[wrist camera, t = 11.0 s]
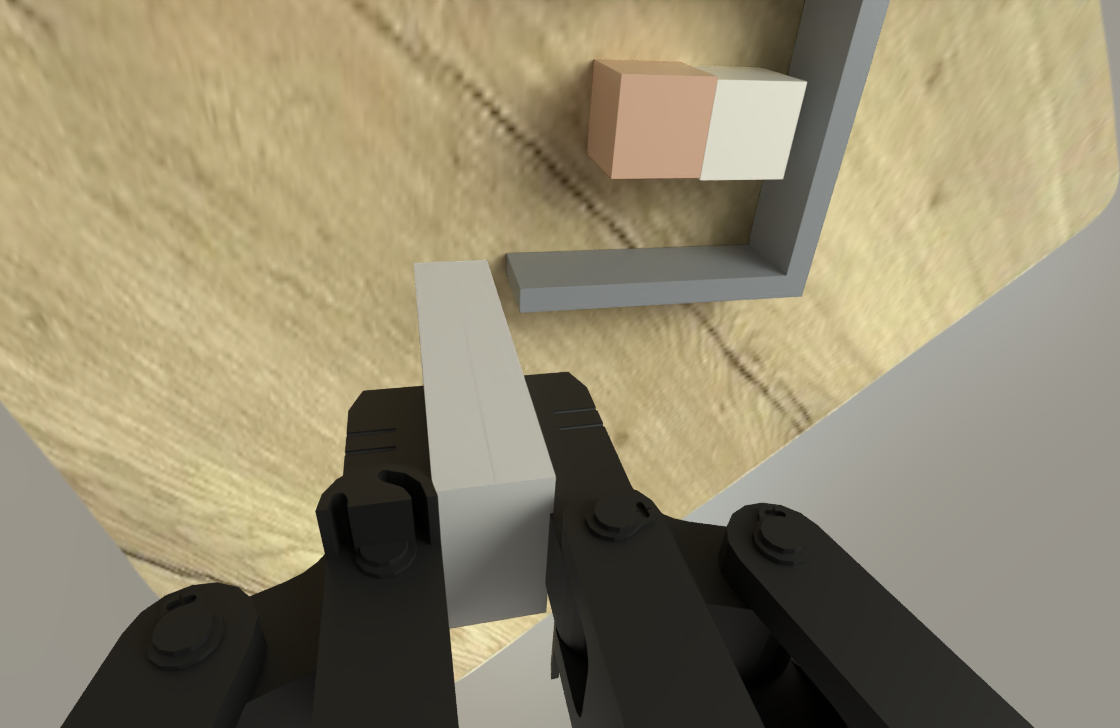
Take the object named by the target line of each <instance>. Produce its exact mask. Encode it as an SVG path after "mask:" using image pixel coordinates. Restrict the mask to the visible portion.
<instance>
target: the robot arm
mask: <svg viewBox="0 0 1120 728" xmlns="http://www.w3.org/2000/svg"><path fill="white" fill-rule="evenodd" d="M414 273H415V286H416V299H417V312H418V324H419V337H420V350H421V363H422V375H423V386H414V387H402V388H390V389H378V390H366V391H363V392H362V393H361V394H360V396H359V397H358V398H357V400H356V401H355V402H354V404H353V405H352V407H351V408H350V409H349V411H348V422H347V437H346V447H345V459H344V471H343V476H342V477H340V478H338V479H336V480H335V481H334V483H333V484H332V485H331V486H330V487H329V488H328V489H327V490H326V491H325V492H324V493H323V494H322V496H321V498H320V501H319V503H318V506H317V508H316V511H315V512H316V516H317V521H318V525H319V529H320V534H321V538H322V543H323V547H324V552H325V554H324V556H323V557H322V558H321V559H320V560H319V561H318V562H317V563H316V564H314V565H313V566H312V567H310V568H309V569H308V570H306V571H305V572H304V573H302V574H300V575H298V576H296V577H294V578H292V579H290V580H288V581H286V582H284V583H281V584H279V585H276V586H274V587H272V588H269V589H267V590H264V591H262V592H259V593H257V594H254V595H252V596H248V595H247V594H246V593H244V592H243V591H242V590H241V589H240V588H239V587H235V586H231V585H227V584H222V583H218V582H216V583H207V584H198V585H191V586H189V587H186V588H184V589H181V590H178V591H176V592H173V593H171V594H168V595H166V596H164V597H163V598H161V599H160V600H158V601H157V602H155V603H154V604H152V605H151V606H150V607H148V608H147V609H145V610H144V611H142V612H141V613H140V614H139V615H138V617H136V619H135V620H134V621H133V622H132V623H131V624H130V626H129V627H128V628H127V629H126V630H125V631H124V632H123V633H122V635H121V636H120V638H119V639H118V641H117V642H116V644H115V646H114V647H113V649H112V650H111V652H110V653H109V655H108V656H107V658H106V659H105V661H104V662H103V664H102V665H101V667H100V668H99V670H98V671H97V673H96V674H95V676H94V677H93V679H92V680H91V682H90V684H89V685H88V686H87V688H86V690H85V691H84V692H83V694H82V696H81V697H80V699H79V700H78V702H77V703H76V705H75V706H74V708H73V709H72V711H71V712H70V714H69V715H68V717H67V718H66V720H65V721H64V723H63V725H62V726H61V727H60V728H459V726H458V715H457V705H456V694H455V684H454V673H453V662H452V652H451V641H450V631H449V629H450V628H456V627H462V626H468V625H474V624H480V623H486V622H492V621H498V620H504V619H510V618H516V617H522V616H528V615H533V614H539V613H545V612H546V607H547V593H548V597H549V601H550V605H551V609H552V613H553V617H554V632H553V644H552V655H551V679H555V678H558V677H559V673H560V677H561V682H562V686H563V690H564V695H565V699H566V703H567V708H568V712H569V716H570V720H571V725H572V728H1034V727H1033V726H1032V725H1031V724H1030V723H1029V722H1028V721H1027V720H1025V719H1024V718H1023V717H1022V716H1021V715H1020V714H1019V713H1018V712H1017V711H1016V710H1015V709H1014V708H1013V707H1012V706H1010V705H1009V704H1008V703H1007V702H1006V701H1005V700H1004V699H1003V698H1002V697H1001V696H1000V695H999V694H997V692H996V691H994V690H993V689H992V688H991V687H990V686H989V685H988V684H987V683H986V682H985V681H984V680H983V679H982V678H981V677H979V676H978V675H977V674H976V673H975V672H974V671H973V670H972V669H971V668H970V667H969V666H968V665H967V664H966V663H964V662H963V661H962V660H961V659H960V658H959V657H958V656H957V655H956V654H955V653H954V652H953V651H952V650H951V649H950V648H948V647H947V646H946V645H945V644H944V643H943V642H942V641H941V640H940V639H939V638H938V637H937V636H936V635H934V634H933V633H932V632H931V631H930V630H929V629H928V628H927V627H926V626H925V625H924V624H923V623H922V622H921V621H920V620H918V619H917V618H916V617H915V616H914V615H913V614H912V613H911V612H910V611H909V610H908V609H907V608H906V607H905V606H903V605H902V604H901V603H900V602H899V601H898V600H897V599H896V598H895V597H894V596H893V595H892V594H890V593H889V591H887V590H886V589H885V588H884V587H883V586H882V585H881V584H880V583H879V582H878V581H877V580H875V578H874V577H872V576H871V575H870V574H869V573H868V572H867V571H866V570H865V569H864V568H863V567H862V566H861V565H860V564H859V563H857V562H856V561H855V560H854V559H853V558H852V557H851V556H850V555H849V554H848V553H847V552H846V551H845V550H843V548H841V547H840V546H839V545H838V544H837V543H836V542H835V541H834V540H833V539H832V538H831V537H830V536H828V534H826V533H825V532H824V531H823V530H822V529H821V528H820V527H819V526H818V525H816V524H815V523H814V522H812V521H811V520H809V519H808V518H807V517H805V516H804V515H803V514H801V513H799V512H797V511H794V510H792V509H789V508H787V507H784V506H782V505H776V504H768V503H757V504H752V505H746V506H744V507H742V508H741V509H739V510H738V511H736V512H735V513H733V514H732V516H731V518H730V521H729V523H728V525H727V527H725V526H717V525H711V524H703V523H695V522H688V521H683V520H679V519H674V518H672V517H669V516H667V515H664V514H662V513H661V512H660V510H659V509H658V508H657V506H656V505H655V504H654V502H653V501H652V500H651V499H649V498H648V497H646V496H645V495H643V494H642V493H640V492H639V491H637V490H634V489H633V488H632V486H631V484H630V482H629V480H628V477H627V475H626V473H625V471H624V468H623V466H622V464H621V462H620V460H619V457H618V455H617V453H616V451H615V449H614V446H613V444H612V442H611V440H610V437H609V435H608V433H607V431H606V429H605V427H603V422H602V420H601V418H600V415H599V413H598V411H596V406H595V404H594V402H593V400H592V398H591V395H590V393H589V391H588V389H587V387H586V386H585V385H583V384H582V383H581V382H580V381H579V380H577V379H576V378H575V377H574V376H573V375H571V374H570V373H569V372H559V373H547V374H535V375H523V372H522V369H521V365H520V362H519V359H518V356H517V353H516V350H515V347H514V343H513V340H512V337H511V334H510V331H509V328H508V325H507V321H506V318H505V315H504V312H503V309H502V306H501V302H500V299H499V296H498V293H497V290H496V287H495V284H494V280H493V277H492V274H491V271H490V268H489V265H488V262H487V260H471V261H447V262H422V263H414Z"/></svg>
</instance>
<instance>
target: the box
mask: <svg viewBox="0 0 1120 728" xmlns="http://www.w3.org/2000/svg"><path fill="white" fill-rule="evenodd" d="M889 2H890V0H805V4H804V8H803V12H802V17H801V21H800V25H799V29H798V34H797V38H796V42H795V46H794V51H793V55H792V59H791V63H790V68H789V72H788V76H791V77H794V78H797V79H800V80H803V81H807V85H806V89H805V93H804V97H803V101H802V105H801V109H800V113H799V117H798V121H797V125H796V129H795V133H794V137H793V141H792V145H791V149H790V153H789V157H788V161H787V165H786V169H785V173H784V177H783V179H763V183H762V187H761V192H760V196H759V200H758V204H757V209H756V213H755V217H754V222H753V226H752V230H751V234H750V239H749V243H748V244H747V245H720V246H692V247H665V248H638V249H610V250H583V251H556V252H528V253H507V267H506V276H507V278H508V281H509V284H510V287H511V290H512V292H513V295H514V298H515V301H516V303H517V306H518V309H519V312H520V313H525V312H543V311H560V310H577V309H594V308H612V307H629V306H646V305H663V304H681V303H698V302H715V301H732V300H750V299H767V298H784V297H801V296H802V294H803V290H804V287H805V284H806V280H807V277H808V274H809V270H810V267H811V264H812V260H813V257H814V253H815V250H816V247H817V243H818V240H819V237H820V233H821V230H822V227H823V223H824V220H825V217H826V213H827V210H828V206H829V203H830V200H831V196H832V193H833V190H834V186H835V183H836V180H837V176H838V173H839V170H840V166H841V163H842V159H843V156H844V153H845V149H846V146H847V143H848V139H849V136H850V133H851V129H852V126H853V123H854V119H855V116H856V112H857V109H858V106H859V102H860V99H861V96H862V92H863V89H864V86H865V82H866V79H867V76H868V72H869V69H870V65H871V62H872V59H873V55H874V52H875V49H876V45H877V42H878V39H879V35H880V32H881V29H882V25H883V22H884V18H885V15H886V12H887V8H888V5H889Z"/></svg>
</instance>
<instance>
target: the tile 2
mask: <svg viewBox="0 0 1120 728" xmlns="http://www.w3.org/2000/svg"><path fill="white" fill-rule="evenodd" d="M689 66H692V67H695V68H697V69H700V70H702V71H705V72H708V73H710V74H713V75H715V76H718V80H717V85H716V91H715V97H714V102H713V108H712V114H711V119H710V125H709V130H708V136H707V142H706V147H705V153H704V159H703V164H702V170H701V175H700V178H697V179H699V180H763V179H783V177H784V173H785V169H786V165H787V161H788V157H789V153H790V149H791V145H792V141H793V137H794V133H795V129H796V125H797V121H798V117H799V113H800V109H801V105H802V101H803V97H804V93H805V89H806V85H807V81H803V80H800V79H797V78H794V77H791V76H787V75H784V74H781V73H778V72H775V71H771V70H768V69H765V68H762V67H740V66H706V65H689Z"/></svg>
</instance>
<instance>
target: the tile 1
mask: <svg viewBox="0 0 1120 728" xmlns="http://www.w3.org/2000/svg"><path fill="white" fill-rule="evenodd" d="M717 80H718V76H715V75H713V74H710V73H708V72H705V71H702V70H700V69H697V68H695V67H692V66H689V65H687V64H684V63H682V62H665V61H633V60H601V59H594V68H593V81H592V94H591V107H590V120H589V133H588V146H587V154H588V155H589V156H590V157H591V159H592V160H593V161H594V162H595V163H596V164H597V165H598V166H599V167H600V168H601V169H602V170H603V171H604V172H605V173H606V174H607V175H608V176H609V177H610V178H611V179H640V178H700V175H701V170H702V164H703V159H704V153H705V147H706V142H707V136H708V130H709V125H710V119H711V114H712V108H713V102H714V97H715V91H716V85H717Z"/></svg>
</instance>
